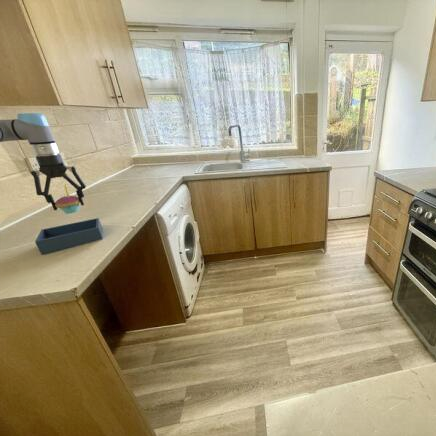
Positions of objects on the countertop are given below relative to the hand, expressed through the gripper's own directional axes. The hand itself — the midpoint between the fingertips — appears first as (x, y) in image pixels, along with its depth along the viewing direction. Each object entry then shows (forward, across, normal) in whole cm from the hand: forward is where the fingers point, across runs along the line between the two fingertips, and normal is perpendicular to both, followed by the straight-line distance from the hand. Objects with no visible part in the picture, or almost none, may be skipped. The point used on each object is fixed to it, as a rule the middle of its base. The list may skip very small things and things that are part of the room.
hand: (69, 206), depth 107 cm
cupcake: (+3, 0, 0) cm, 3 cm away
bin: (+10, 0, -16) cm, 19 cm away
